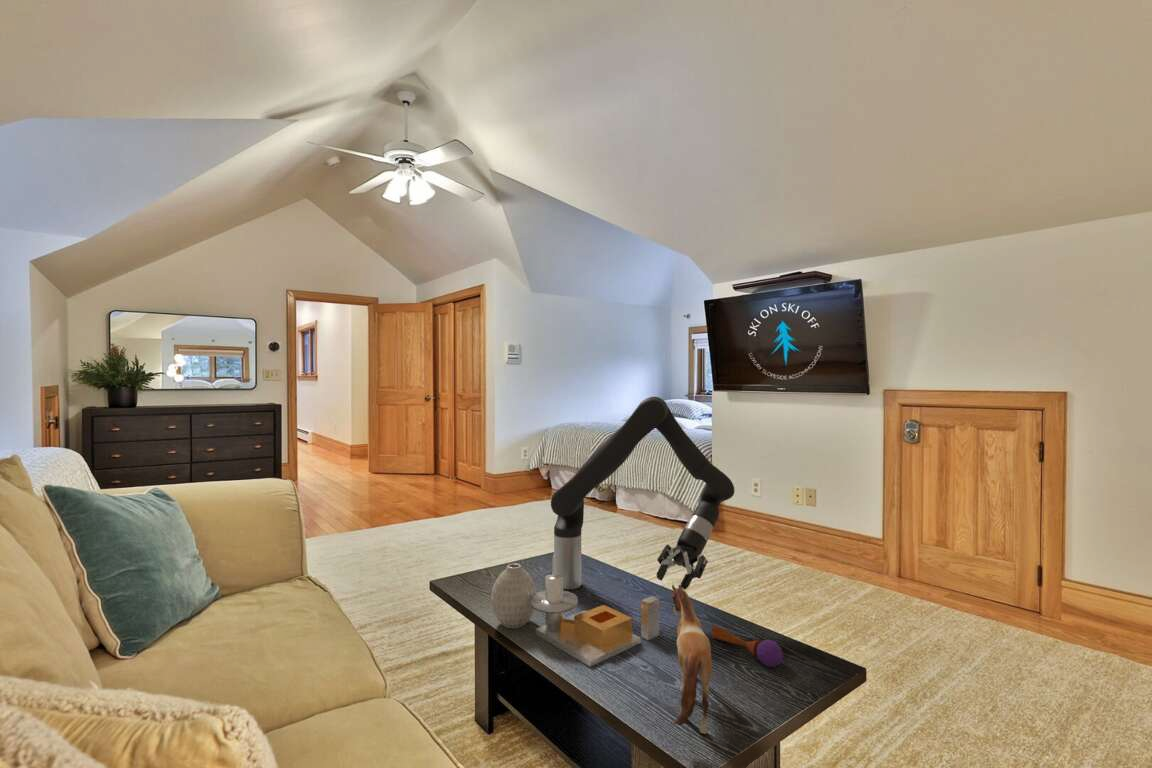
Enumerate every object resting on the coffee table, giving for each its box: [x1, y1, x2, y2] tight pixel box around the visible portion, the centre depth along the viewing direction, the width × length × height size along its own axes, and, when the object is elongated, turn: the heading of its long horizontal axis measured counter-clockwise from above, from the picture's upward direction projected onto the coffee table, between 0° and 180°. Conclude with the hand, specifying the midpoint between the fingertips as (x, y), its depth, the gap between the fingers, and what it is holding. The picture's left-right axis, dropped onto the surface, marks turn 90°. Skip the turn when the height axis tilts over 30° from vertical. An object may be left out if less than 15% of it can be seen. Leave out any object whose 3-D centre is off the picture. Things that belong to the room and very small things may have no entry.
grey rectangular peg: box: [640, 595, 660, 641], centre depth 148 cm, size 2×4×10 cm, turn 131°
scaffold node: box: [530, 573, 641, 668], centre depth 147 cm, size 26×20×16 cm
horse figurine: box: [671, 584, 712, 735], centre depth 117 cm, size 31×8×21 cm, turn 170°
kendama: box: [710, 625, 784, 668], centre depth 139 cm, size 6×6×20 cm
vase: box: [490, 563, 537, 630], centre depth 155 cm, size 13×13×17 cm
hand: (670, 583), depth 153 cm, fingers open, 8 cm apart
